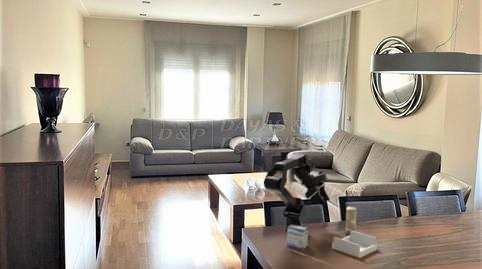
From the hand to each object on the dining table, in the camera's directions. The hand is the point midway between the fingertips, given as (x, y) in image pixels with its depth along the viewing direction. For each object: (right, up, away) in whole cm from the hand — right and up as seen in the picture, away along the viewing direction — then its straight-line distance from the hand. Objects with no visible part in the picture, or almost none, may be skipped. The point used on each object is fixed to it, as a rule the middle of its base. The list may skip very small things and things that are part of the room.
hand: (327, 202), depth 196 cm
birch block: (+9, -14, -6) cm, 18 cm away
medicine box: (-17, -16, -20) cm, 30 cm away
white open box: (+7, -16, -23) cm, 29 cm away
